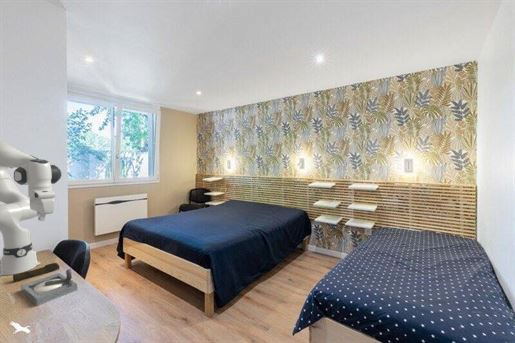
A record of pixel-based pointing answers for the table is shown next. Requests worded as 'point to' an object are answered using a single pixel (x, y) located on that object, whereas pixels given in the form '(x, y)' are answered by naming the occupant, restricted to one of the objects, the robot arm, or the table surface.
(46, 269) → the hand tool
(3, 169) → the robot arm
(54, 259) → the table surface
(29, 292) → the panel
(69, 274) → the crank
